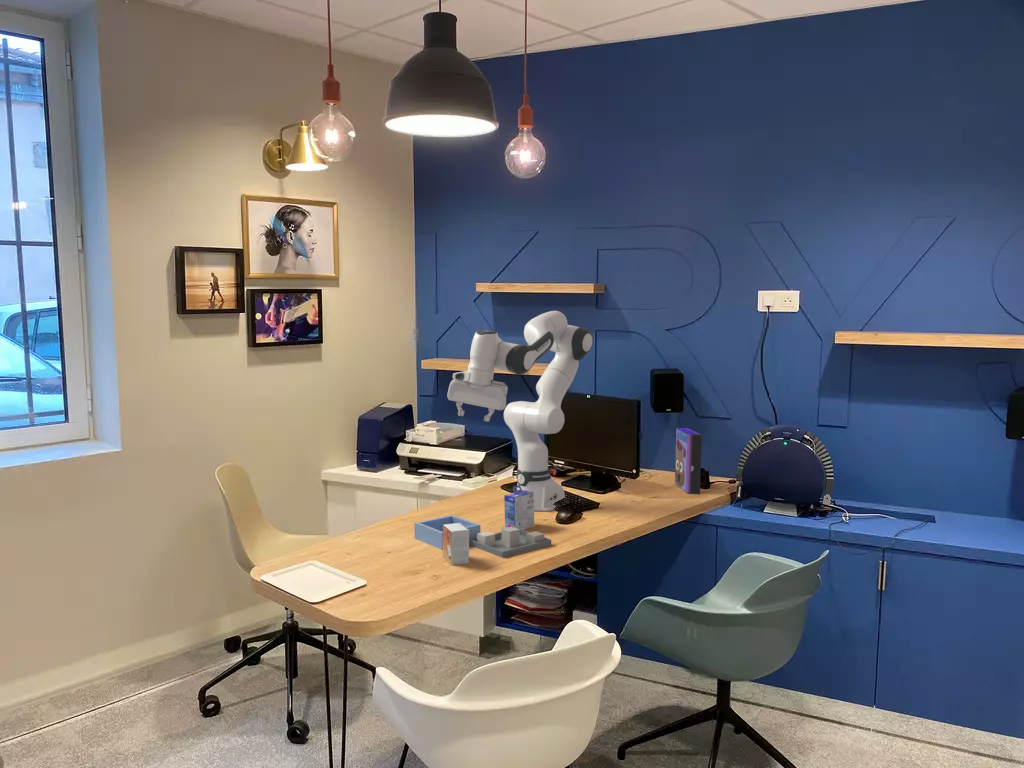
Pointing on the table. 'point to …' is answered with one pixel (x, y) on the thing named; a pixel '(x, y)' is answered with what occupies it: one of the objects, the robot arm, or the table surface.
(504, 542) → the beige cardboard cube
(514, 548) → the parts tray
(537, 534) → the gray cube
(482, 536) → the cream sharp-edged cube
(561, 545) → the table surface
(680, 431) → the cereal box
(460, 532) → the small box
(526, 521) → the ink cartridge box
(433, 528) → the blue square bin
